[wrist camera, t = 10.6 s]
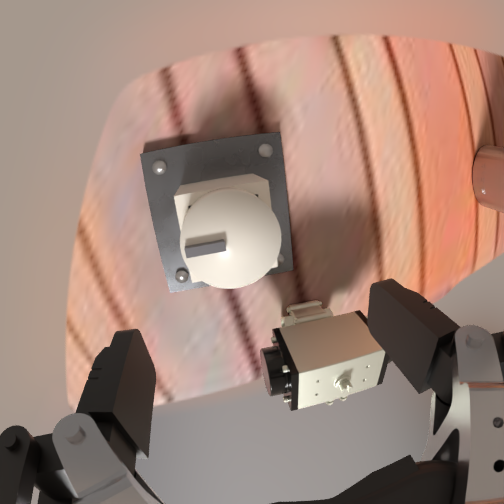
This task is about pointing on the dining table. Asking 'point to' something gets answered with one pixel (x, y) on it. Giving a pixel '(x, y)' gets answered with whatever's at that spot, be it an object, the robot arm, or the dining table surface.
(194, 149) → the shaft mount
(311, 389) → the pneumatic valve
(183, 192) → the knob
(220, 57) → the dining table surface
